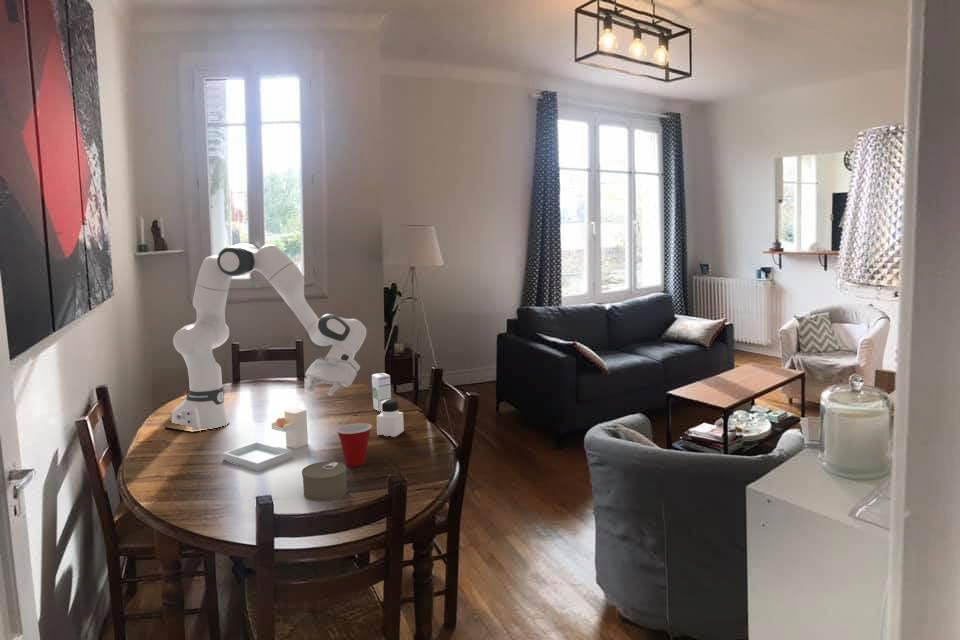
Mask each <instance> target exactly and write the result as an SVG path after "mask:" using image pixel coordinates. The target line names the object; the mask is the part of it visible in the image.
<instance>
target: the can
mask: <svg viewBox="0 0 960 640" xmlns="http://www.w3.org/2000/svg"><path fill="white" fill-rule="evenodd" d="M347 467H348V466H347V465H346V464H344V463H342V462H339V461H321V462H314V463H312V464H309V465H306V466H305V467H304V468H302V471H301V475H302V484H303V487H302V488H303V497H304V498H305V499H306V500H308V501H311V502H318V503H319V502H320V503H321V502H329V501H334V500H337V499H340V498H342V497H343V496H344V495H346V494H347V492H348V489H347V470H348V469H347Z"/></svg>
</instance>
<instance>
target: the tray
mask: <svg viewBox="0 0 960 640" xmlns="http://www.w3.org/2000/svg"><path fill="white" fill-rule="evenodd" d="M292 451H293V450H290V449H287V448H282V447H280V446H276V445H271V444H268V443H266V442H265V443H264V442H261V441H254V442H251V443H247V444H245V445H242V446H240V447H236V448H233V449H231V450H228V451H224V452H222V461H223V460H226V461H229V462H232V463H235V464H234V465H236V464H238V465H237V466H239V465H240V467H242V466H243V468H245V467H246V469H249V470H252V471H255V470H256V471H255V472H261V471H262V469H263V470H265V469H268V468H271V467H273V466H275V465H278V464H280V463H284V462H286V461H288V460H291V459H293V455H292V454H293V452H292ZM226 461H225V462H226ZM229 462H228V463H229ZM232 463H231V464H232ZM270 466H271V467H270Z"/></svg>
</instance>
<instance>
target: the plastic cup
mask: <svg viewBox="0 0 960 640" xmlns="http://www.w3.org/2000/svg"><path fill="white" fill-rule="evenodd" d="M371 429H372V424H370V423H365V422H363V423H361V422H359V423H358V422H356V423H350V424H344V425H341V426H338V427H337V428H336V429H335V431H336V433H337V434H338V437H339V439H340V440H339V441H340V443H341V445H340V446H341V449H342V453H343V456H344V461H345V465H346V467H349V468H358V467H362V466H364V465H365V464H366V459H367V458H366V457H367V453H368V445H369V437H370V432H371Z"/></svg>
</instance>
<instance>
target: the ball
mask: <svg viewBox="0 0 960 640" xmlns="http://www.w3.org/2000/svg"><path fill="white" fill-rule="evenodd" d="M275 422H276V424H277V426H279V427H283V426H284V425H286V419H285V417H284V416H280V417H278V418H277V419H276V421H275Z"/></svg>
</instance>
